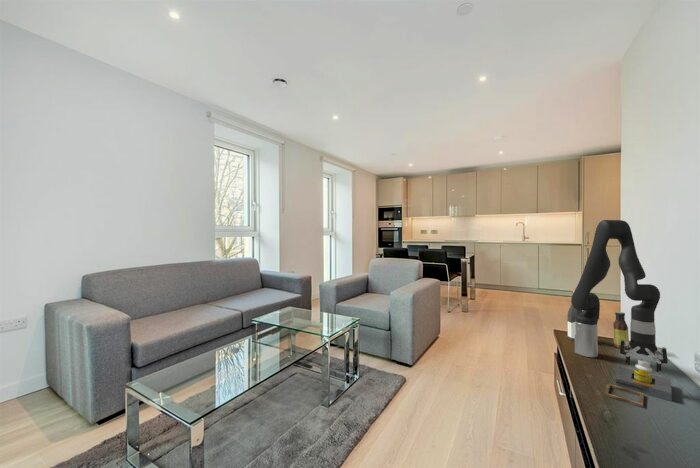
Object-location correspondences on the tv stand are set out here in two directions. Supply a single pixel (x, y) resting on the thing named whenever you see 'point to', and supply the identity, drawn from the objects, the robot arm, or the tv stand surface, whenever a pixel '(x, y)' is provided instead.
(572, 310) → the wine bottle
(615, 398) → the cradle
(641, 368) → the supplement bottle
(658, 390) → the socket plate
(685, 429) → the tv stand surface
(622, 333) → the sauce bottle
